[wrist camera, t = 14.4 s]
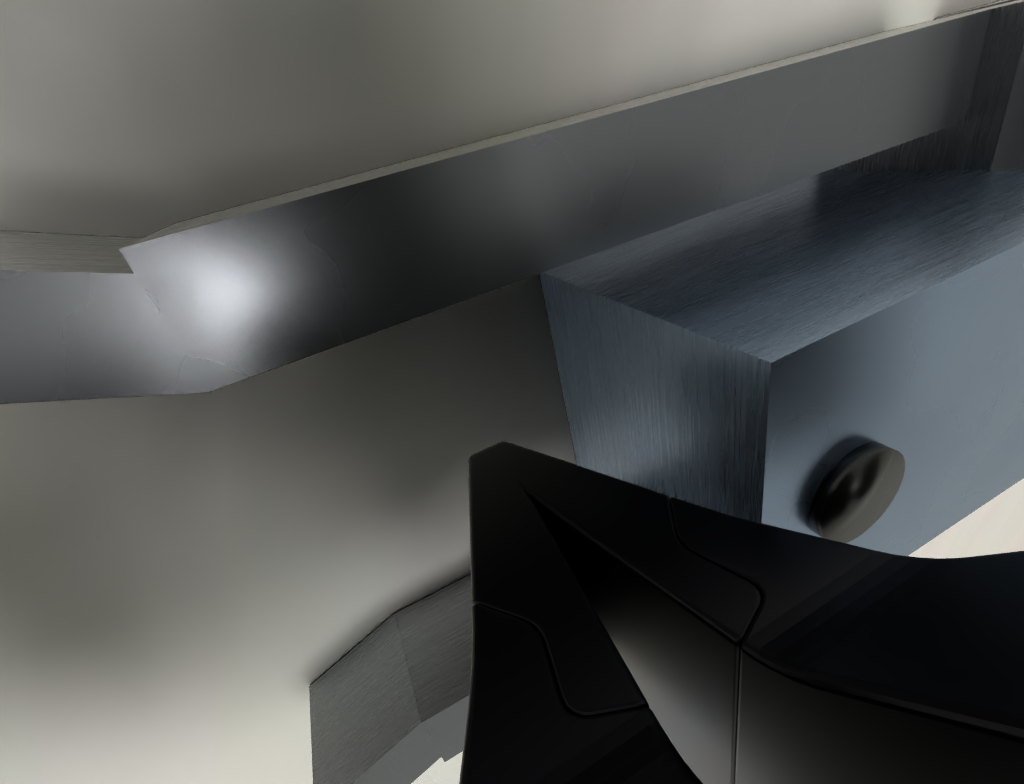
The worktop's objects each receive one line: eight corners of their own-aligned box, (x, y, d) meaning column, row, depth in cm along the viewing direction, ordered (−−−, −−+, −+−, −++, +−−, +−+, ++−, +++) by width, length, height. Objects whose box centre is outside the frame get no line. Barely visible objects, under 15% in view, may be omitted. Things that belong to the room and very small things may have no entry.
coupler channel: (-52, 240, 5) (-1440, 523, 1) (1065, -40, 11) (1604, -187, 6) (330, 712, 11) (359, 1082, 6) (949, 372, 16) (1198, 447, 12)
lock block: (538, 271, 9) (789, 370, 4) (819, 170, 10) (1200, 169, 6) (579, 476, 11) (764, 671, 7) (800, 368, 13) (1061, 468, 8)
